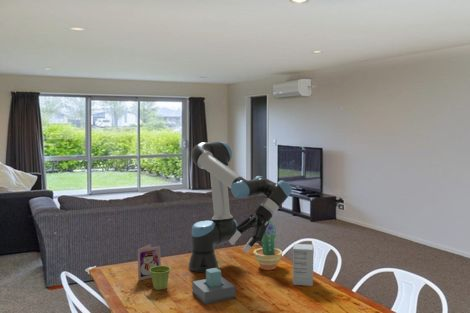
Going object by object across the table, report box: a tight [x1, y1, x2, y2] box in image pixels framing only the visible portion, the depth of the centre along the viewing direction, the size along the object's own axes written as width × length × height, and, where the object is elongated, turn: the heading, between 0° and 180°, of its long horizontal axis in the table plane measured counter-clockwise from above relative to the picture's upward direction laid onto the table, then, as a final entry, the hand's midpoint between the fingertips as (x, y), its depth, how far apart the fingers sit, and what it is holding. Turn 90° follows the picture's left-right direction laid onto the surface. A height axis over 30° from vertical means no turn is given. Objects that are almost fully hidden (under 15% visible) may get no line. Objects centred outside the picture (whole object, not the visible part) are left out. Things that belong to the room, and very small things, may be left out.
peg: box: [205, 268, 222, 288], centre depth 181 cm, size 5×5×10 cm
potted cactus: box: [252, 219, 284, 271], centre depth 217 cm, size 15×15×25 cm
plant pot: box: [150, 265, 171, 291], centre depth 191 cm, size 9×9×9 cm
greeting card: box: [137, 243, 162, 281], centre depth 205 cm, size 11×7×15 cm, turn 123°
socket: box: [192, 275, 236, 305], centre depth 182 cm, size 14×14×5 cm
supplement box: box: [292, 243, 314, 287], centre depth 196 cm, size 10×9×17 cm
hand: (237, 247), depth 185 cm, fingers open, 13 cm apart
